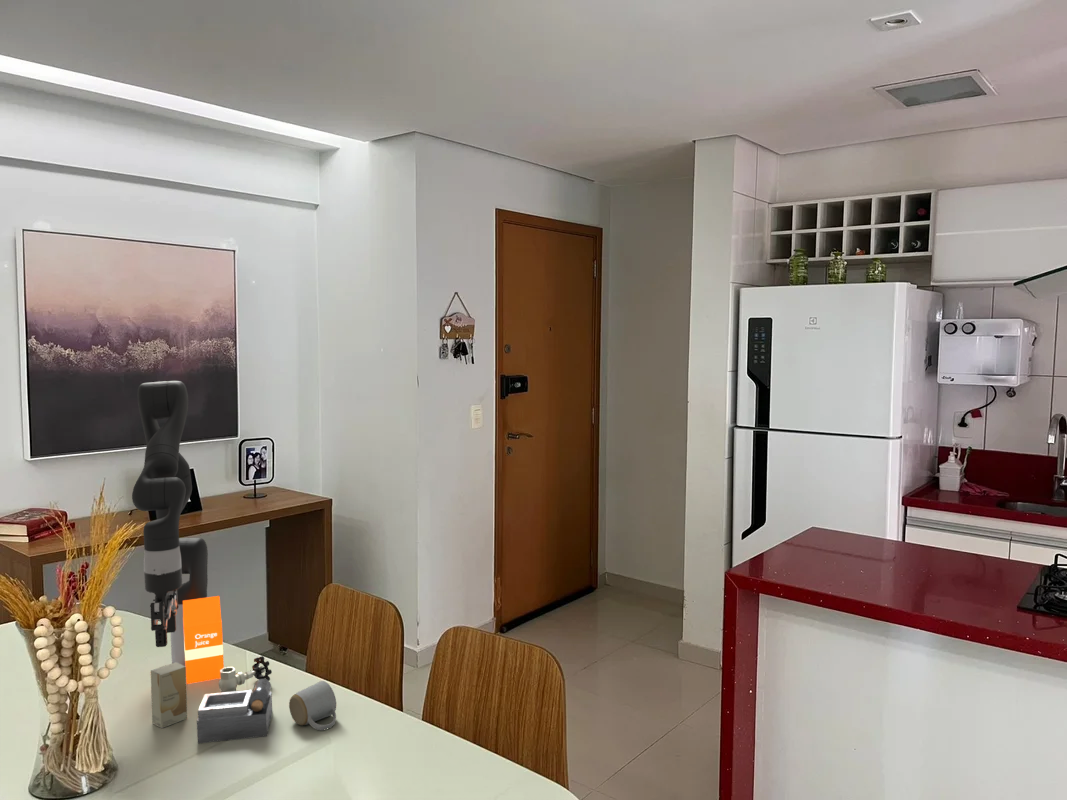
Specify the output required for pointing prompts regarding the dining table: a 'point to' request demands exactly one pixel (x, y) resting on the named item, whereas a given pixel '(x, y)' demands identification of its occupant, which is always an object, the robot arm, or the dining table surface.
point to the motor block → (235, 714)
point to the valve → (242, 675)
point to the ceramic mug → (313, 705)
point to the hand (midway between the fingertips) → (166, 639)
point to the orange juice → (203, 639)
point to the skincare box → (168, 694)
